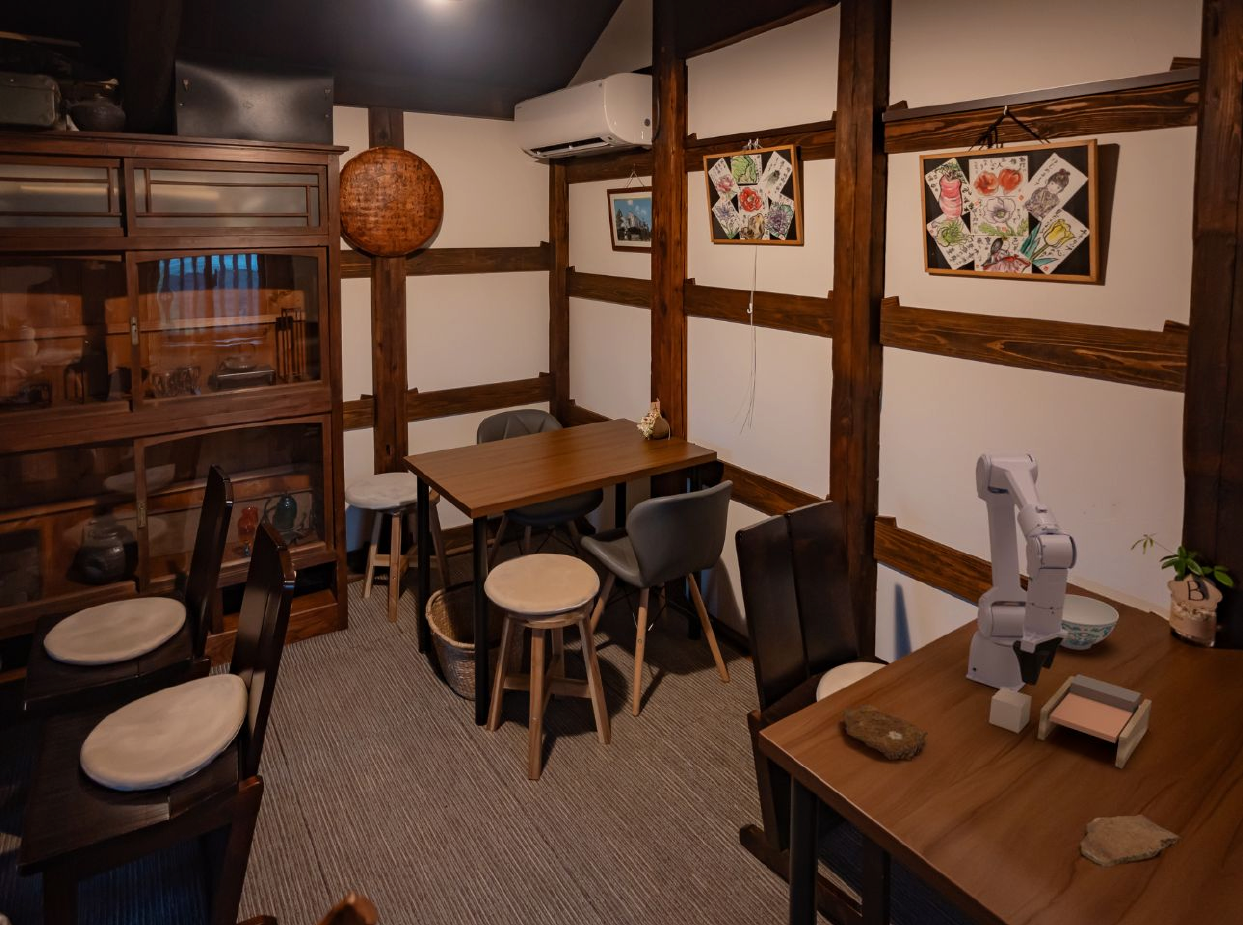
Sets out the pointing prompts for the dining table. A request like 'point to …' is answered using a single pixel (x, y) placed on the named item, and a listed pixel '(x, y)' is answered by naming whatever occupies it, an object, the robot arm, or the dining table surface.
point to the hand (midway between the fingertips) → (1036, 674)
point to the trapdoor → (1097, 708)
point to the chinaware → (1086, 621)
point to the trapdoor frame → (1126, 739)
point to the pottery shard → (1124, 839)
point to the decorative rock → (884, 732)
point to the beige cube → (1010, 709)
